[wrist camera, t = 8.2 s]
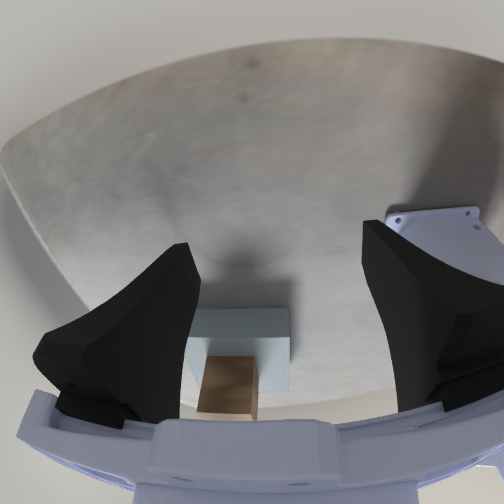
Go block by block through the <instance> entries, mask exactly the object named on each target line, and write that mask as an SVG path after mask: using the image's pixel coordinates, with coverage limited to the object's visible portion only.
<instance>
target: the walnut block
mask: <svg viewBox="0 0 504 504" xmlns="http://www.w3.org/2000/svg"><path fill="white" fill-rule="evenodd" d="M258 389H259V378H258V373H257V367H256V362H255V357H254V356H207V357H206V363H205V368H204V373H203V379H202V384H201V390H200V396H199V401H198V407H197V413H198V415H199V416H200V418H201V419H202V420H216V421H257V410H258Z"/></svg>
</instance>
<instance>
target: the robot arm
mask: <svg viewBox="0 0 504 504" xmlns="http://www.w3.org/2000/svg"><path fill="white" fill-rule="evenodd" d="M467 211H468V212H467ZM466 212H467V214H466ZM479 213H480V210H479V208H478V207H477V206H469V207H456V208H444V209H433V210H422V211H411V212H401V213H391V214H389V215H387V217H386V219H385V224H384V223H382V222H381V221H379V220H367V221H363V241H362V266H363V270H364V274H365V277H366V281H367V284H368V287H369V289H370V292H371V294H372V297H373V299H374V302H375V304H376V307H377V309H378V312H379V315H380V317H381V320H382V323H383V325H384V329H385V332H386V336H387V340H388V344H389V349H390V354H391V359H392V365H393V370H394V377H395V384H396V392H397V402H398V413H396V414H391V415H387V416H382V417H377V418H372V419H366V420H361V421H355V422H348V423H342V424H334V425H333V424H331V423H328V422H323V421H319V420H315V419H303V420H302V419H287V420H266V421H216V420H196V419H180V416H179V413H180V412H179V410H180V390H181V379H182V369H183V361H184V354H185V349H186V344H187V340H188V336H189V333H190V329H191V325H192V322H193V318H194V315H195V311H196V307H197V303H198V299H199V292H200V284H201V279H200V276H199V274H198V271H197V268H196V265H195V262H194V260H193V257H192V254H191V251H190V248H189V245H188V242H187V243H179V244H174V245H173V246H171V247H170V248H169V249H168V250H166V251H165V252H164V253H163V254H162V255H161V256H160V257H159V258H157V259H156V260H155V261H154V262H153V263H152V264H151V265H150V266H149V267H148V268H147V269H146V270H145V271H143V272H142V273H141V274H140V275H139V276H138V277H137V278H135V279H134V280H133V281H132V282H131V283H130V284H129V285H127V286H126V287H125V288H124V289H122V290H121V291H120V292H119V293H117V294H116V295H114V296H113V297H112V298H110V299H109V300H108V301H106V302H105V303H103V304H101V305H100V306H98V307H97V308H95V309H94V310H92V311H91V312H89V313H87V314H85V315H84V316H82V317H80V318H78V319H76V320H74V321H72V322H70V323H68V324H66V325H64V326H62V327H59V328H57V329H55V330H52V331H50V332H48V333H45V334H44V336H43V337H42V339H41V341H40V343H39V344H38V346H37V348H36V350H35V351H34V353H33V360H34V364H35V365H36V367H37V368H38V370H39V371H40V372H41V373H42V374H43V375H44V376H45V377H46V378H47V379H48V380H49V381H50V382H51V383H52V384H53V385H54V386H55V387H56V388H57V389H59V390H60V391H61V392H60V395H59V397H57V396H55V395H53V394H51V393H47V392H44V391H41V390H38V389H36V390H35V392H34V394H33V396H32V398H31V400H30V403H29V405H28V407H27V410H26V412H25V415H24V417H23V419H22V422H21V424H20V427H19V430H18V432H17V438H18V439H20V440H21V441H23V442H24V443H26V444H27V445H29V446H30V447H32V448H34V449H35V450H37V451H38V452H40V453H42V454H43V455H45V456H47V457H48V458H50V459H52V460H54V461H56V462H58V463H60V464H62V465H64V466H66V467H69V468H71V469H73V470H75V471H78V472H80V473H83V474H85V475H88V476H90V477H92V478H95V479H98V480H100V481H103V482H106V483H109V484H111V485H114V486H118V487H120V488H123V489H127V490H130V491H133V492H135V494H134V499H133V504H419V500H418V491H417V489H418V488H421V487H424V486H427V485H430V484H433V483H436V482H438V481H441V480H443V479H446V478H448V477H451V476H453V475H456V474H458V473H460V472H462V471H465V470H467V469H469V468H471V467H473V466H487V467H495V468H496V469H497V472H498V474H499V475H500V477H501V479H502V481H503V483H504V245H503V244H502V243H501V242H500V241H499V240H498V238H497V237H496V236H495V235H494V234H493V233H492V232H491V231H490V230H489V229H488V228H487V227H486V226H485V225H484V224H483V223H482V222H481V221H480V220H479V219H478V218H479ZM397 218H399V220H398V221H396V219H397Z"/></svg>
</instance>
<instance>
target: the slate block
mask: <svg viewBox="0 0 504 504" xmlns="http://www.w3.org/2000/svg"><path fill="white" fill-rule="evenodd" d="M184 356H185V358H186V360H187V362H188V365H189V367H190V369H191V371H192V373H193V375H194V377H195V379H196V381H197V383H198V385H199V387H200V389H201V384H202V379H203V373H204V368H205V363H206V357H207V356H254V357H255V362H256V367H257V373H258V378H259V389H258V392H289V372H290V329H289V307H275V308H239V309H196V311H195V315H194V318H193V322H192V325H191V329H190V333H189V336H188V340H187V344H186V349H185V354H184Z"/></svg>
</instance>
